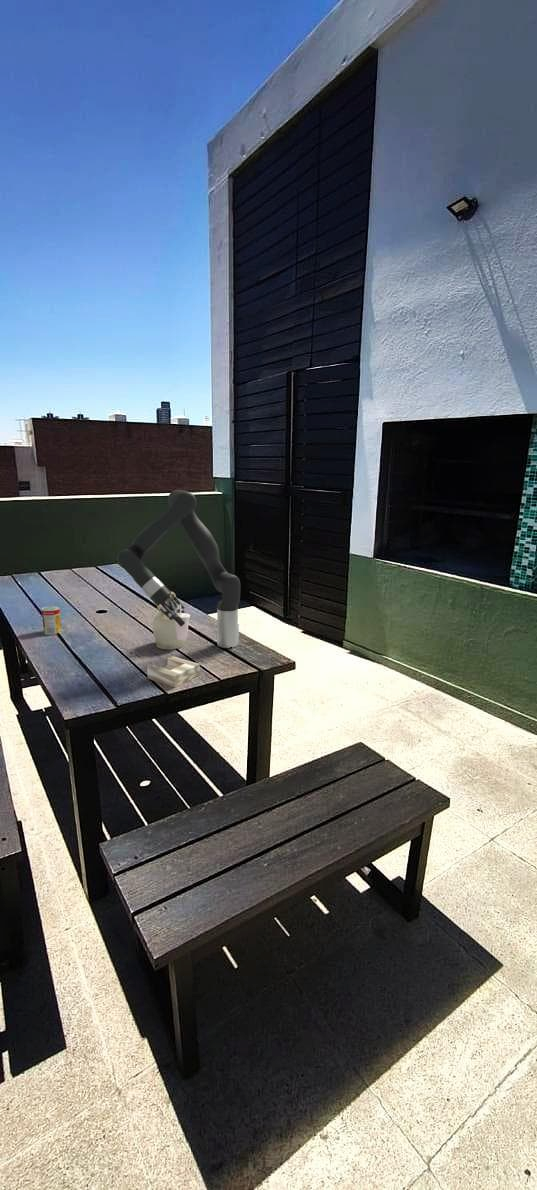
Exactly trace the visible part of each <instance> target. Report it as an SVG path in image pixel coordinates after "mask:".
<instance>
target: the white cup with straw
mask: <svg viewBox="0 0 537 1190" xmlns="http://www.w3.org/2000/svg"><path fill="white" fill-rule="evenodd" d="M181 604H182V603H181ZM181 604H180V613H177V614H178V616H180V617H181V619H182V620H183V621H184V622H185V624H184V625H183V626H180V625H179V624H178V623H177V622H176V621H175V626H176V634H177V639H178V640H185V641H186V640H187V638H188V631H189V630H188V629H189V622H190V619H191V614H190V613H187V612H186V613H181ZM189 618H190V619H189Z"/></svg>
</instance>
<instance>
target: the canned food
mask: <svg viewBox="0 0 537 1190" xmlns="http://www.w3.org/2000/svg"><path fill="white" fill-rule="evenodd" d="M41 616H42V617H41V618H42V627H43V634H44V635H46V636H53V634H56V635H58V634H57V633H59V632H61V631H62V632H63V630H62V629H63V628H62V621H61V619H62V618H61V608H60V606H57V605H56V606H55V605H52V606H51V605H49V606H44V607H41ZM62 632H61V633H62ZM59 634H60V633H59Z"/></svg>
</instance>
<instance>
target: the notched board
mask: <svg viewBox="0 0 537 1190" xmlns="http://www.w3.org/2000/svg"><path fill="white" fill-rule="evenodd" d="M146 668H147V670H146V671H147V679H149V680H151V681H154V682H158V683H160V684H163V685H166V686H170V687H172V688H175V687H176V688H177V686H178V687H180V686H181V685H183V684H185V683H187V682H189V681H190V680H192V678H193V679H195V678H196V676H197V677H198V676H200V674H201V672H200V671H201V669H200V668H201V664H200V663H197V662H193V661H190V660H187V659H183V658H179V657H177V656H173V655H172V656H169V657H167V665H165V666H163V667H160V666H157V665H154V664H152V665H150V666H148V667H146ZM194 677H195V678H194Z"/></svg>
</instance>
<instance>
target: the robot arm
mask: <svg viewBox="0 0 537 1190" xmlns="http://www.w3.org/2000/svg"><path fill="white" fill-rule="evenodd" d="M167 504H168V507H169V508H168V510H166V511H165V512H164V513H163V514H162V515H160V516H159V517H158V518H156V519H155V520H154V521H152V522H151V523H149V524H148V525H147V526H145V527H144V528H143V529H141V531H140V532H139V533H138V534H137V535H136V536H135V537H134V539H133V541H132V543H131V544H129V546H128V547H127V548H125V549H122V550H120V551H119V552H118V553H117V556H116V562H117V563H118V565H119V566H120V567H121V568H122V569H124V571H125V572H126V573H127V574H129V576H130V577H131V578H132V579H133V580H134V582H135V583H136V584H137V585H138V586H139V588H140V589H142V591H143V592H144V593H145V595H146V596H147V597H148V598H149V599H150V600H151V601H152V602H153V603H154V604H155V605H156V607H157V606H159V605H160V606H162V608H161V609H160V610H161V611H162V612H163V613H164V614H165V615H166V616H167V617H168V618H169V619H170V620H172V619H173V620H175V621H176V622H177V623H178V624H179V625H180V626H183V625H184V624H185V622H184V621H183V620H182V619H181V617H180V616H178V614H177V613H180V604H181V613H187V612H186V611H184V610H185V606H184V605H183V604H182V603H181V601H180V600H179V599H178V598H177V596H176V597H174V598H173V599H172V598H171V592H172V591H171V590H170V589H169V588H168V587H167V586H166V585H165V584H164V583H163V581H161V580H160V579H159V578H157V577H156V575H155V574H154V573H153V572H152V571H151V570H150V569H149V568H148V567H147V566H146V565H145V564H144V563H143V562H142V561H141V560H142V559H143V557H144V556H145V554H146V553H147V552H148V551H150V550H151V549H152V548H153V547H154V546H155V545H156V544H157V542H158V541H159V540H161V539H162V537H163V536H164V535H165V534H167V533H168V532H169V531H170V530H171V529H172V528H173V527H175V526H176V525H177V524H178V523H180V524H181V526H182V527H183V529H184V531H185V533H186V535H187V537H188V540H189V541H190V543H191V545H192V547H193V548H194V551H195V552H196V554H197V556H198V557H199V558H200V560H201V562H202V563H203V565H204V567H205V568H206V570H207V572H208V574H209V577H210V580H211V581H212V584H213V586H214V588H215V589H216V590H217V591H218V592H219V593H221V594H222V595H221V600H219V601H218V602H217V604H216V607H217V608H216V613H217V614H216V618H217V619H216V620H217V621H216V623H217V625H216V627H217V636H216V638H217V647H220V648H223V649H230V647H232V648H235V647H237V646H238V644H239V639H240V638H239V636H240V635H239V633H240V631H239V630H240V629H239V628H240V626H239V625H240V624H239V618H238V617H239V604H240V602H241V601H240V599H241V581H240V578H239V576H237V575H235V574H232V573H229V572H228V570H226V569H225V567H224V566H223V564H222V562H221V559H220V549H219V546H218V544H217V542H216V540H215V538H214V536H213V534H212V533H211V531H210V530H209V529H208V528H207V527H206V526H205V525H204V523H203V522H202V521H201V520H200V519H199V517H198V516H197V514H196V512H195V511H194V510H195V509H196V507H197V498H196V497H195V495H194V493H192V492H190V491H188V490H187V491H186V490H182V489H175V490H171V492H170V493H169V494H168V497H167ZM170 591H171V592H170ZM169 615H170V616H171V617H170V616H169ZM190 619H191V617H190V618H189V620H190Z"/></svg>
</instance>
